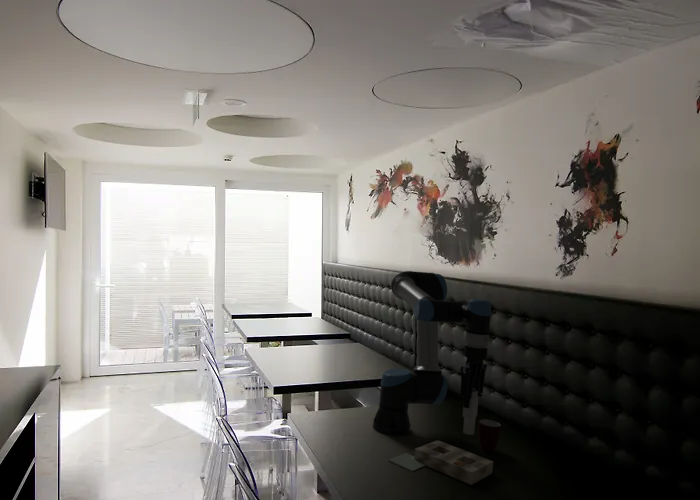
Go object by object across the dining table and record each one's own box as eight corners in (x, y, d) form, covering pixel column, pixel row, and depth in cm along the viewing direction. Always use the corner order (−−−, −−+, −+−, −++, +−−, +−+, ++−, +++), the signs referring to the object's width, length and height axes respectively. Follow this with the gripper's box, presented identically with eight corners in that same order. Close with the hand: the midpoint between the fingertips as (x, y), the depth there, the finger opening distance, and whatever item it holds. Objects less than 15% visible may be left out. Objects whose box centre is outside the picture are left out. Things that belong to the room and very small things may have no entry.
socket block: (414, 460, 172) (415, 448, 172) (436, 451, 182) (437, 439, 182) (471, 485, 157) (472, 471, 157) (492, 473, 167) (493, 460, 167)
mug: (498, 458, 181) (501, 430, 181) (476, 453, 183) (478, 426, 183) (498, 447, 191) (500, 421, 191) (476, 443, 193) (479, 418, 193)
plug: (460, 432, 166) (464, 388, 166) (466, 430, 169) (470, 386, 169) (470, 435, 163) (474, 391, 164) (476, 433, 166) (480, 389, 166)
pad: (388, 460, 170) (388, 459, 170) (405, 454, 177) (405, 452, 177) (412, 471, 163) (412, 470, 163) (429, 464, 170) (429, 462, 170)
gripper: (473, 350, 158) (467, 424, 158) (498, 346, 170) (491, 415, 169) (453, 345, 163) (446, 417, 163) (478, 342, 175) (472, 409, 175)
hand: (469, 416), depth 166 cm, fingers closed on plug, 3 cm apart
